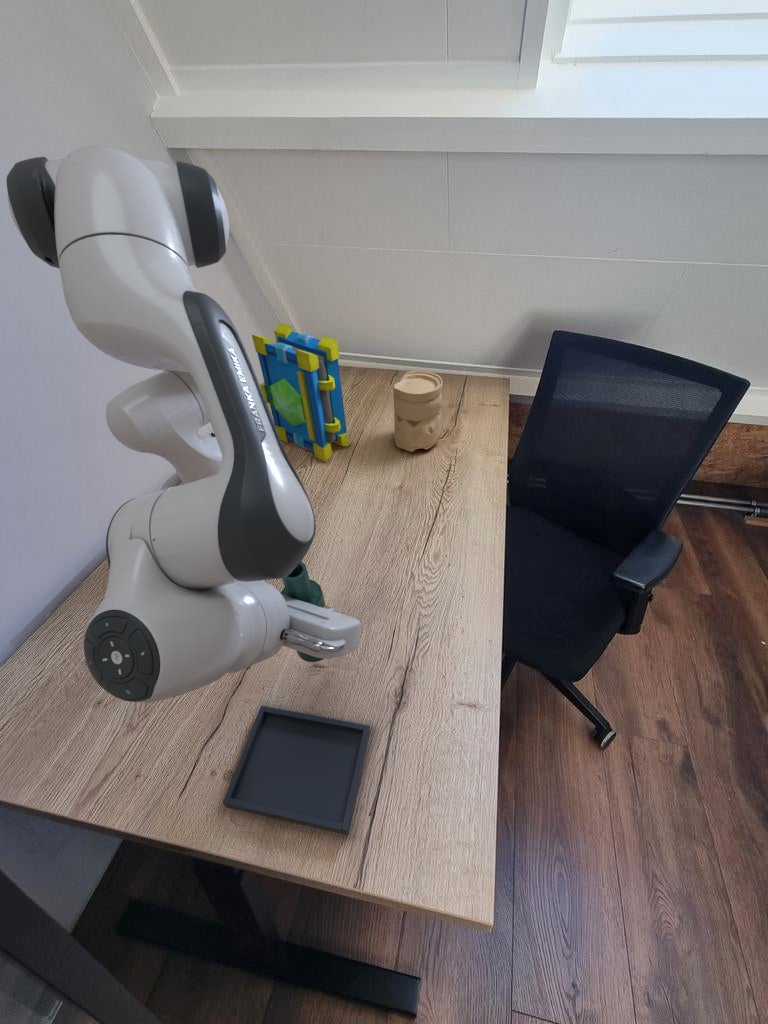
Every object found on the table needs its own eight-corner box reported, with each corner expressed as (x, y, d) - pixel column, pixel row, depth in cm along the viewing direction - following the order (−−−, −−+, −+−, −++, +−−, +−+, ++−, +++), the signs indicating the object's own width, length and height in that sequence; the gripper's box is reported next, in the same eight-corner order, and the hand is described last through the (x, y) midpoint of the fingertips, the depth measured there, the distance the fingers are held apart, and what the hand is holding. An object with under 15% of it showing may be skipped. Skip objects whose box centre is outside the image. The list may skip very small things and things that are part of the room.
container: (390, 451, 124) (388, 391, 112) (400, 427, 133) (398, 369, 120) (436, 456, 121) (438, 395, 109) (443, 431, 130) (445, 372, 118)
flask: (288, 646, 67) (262, 571, 55) (317, 622, 70) (298, 546, 58) (311, 669, 64) (288, 595, 52) (341, 644, 67) (325, 569, 55)
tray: (226, 807, 63) (222, 803, 62) (263, 711, 73) (260, 705, 71) (348, 835, 60) (346, 831, 59) (370, 731, 70) (369, 725, 68)
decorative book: (303, 419, 139) (284, 319, 118) (359, 444, 127) (349, 338, 107) (267, 440, 131) (240, 337, 110) (323, 469, 119) (304, 360, 99)
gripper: (340, 622, 45) (383, 605, 58) (178, 568, 51) (250, 564, 64) (325, 684, 45) (371, 653, 58) (165, 623, 51) (240, 607, 64)
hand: (306, 605), depth 61 cm, fingers closed on flask, 5 cm apart
